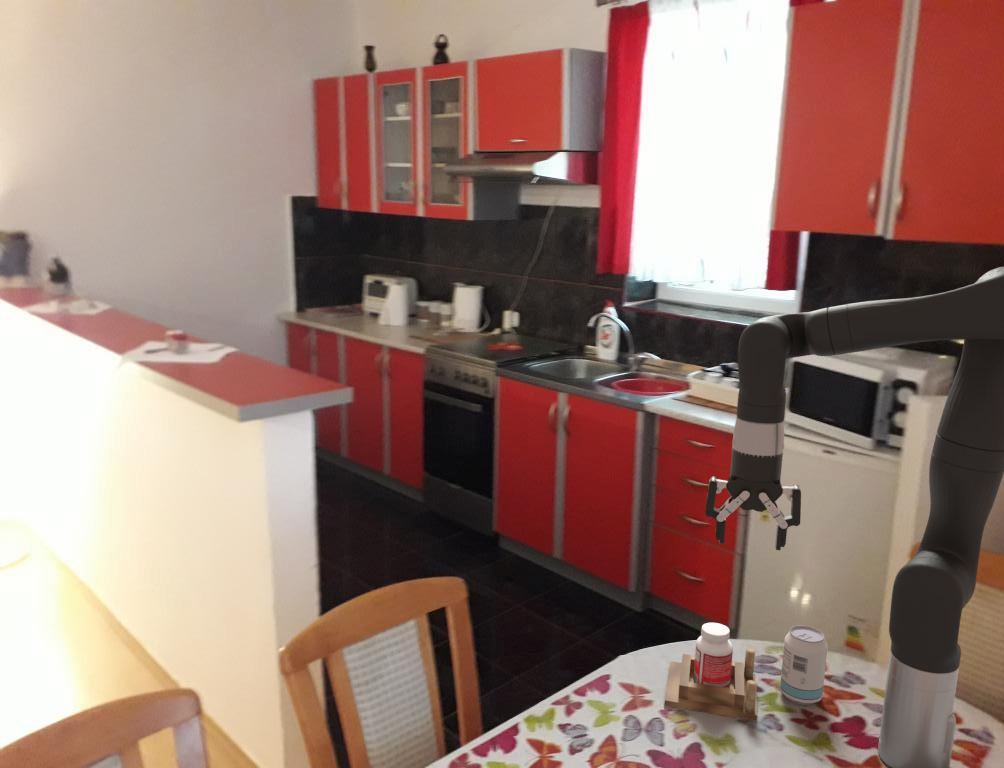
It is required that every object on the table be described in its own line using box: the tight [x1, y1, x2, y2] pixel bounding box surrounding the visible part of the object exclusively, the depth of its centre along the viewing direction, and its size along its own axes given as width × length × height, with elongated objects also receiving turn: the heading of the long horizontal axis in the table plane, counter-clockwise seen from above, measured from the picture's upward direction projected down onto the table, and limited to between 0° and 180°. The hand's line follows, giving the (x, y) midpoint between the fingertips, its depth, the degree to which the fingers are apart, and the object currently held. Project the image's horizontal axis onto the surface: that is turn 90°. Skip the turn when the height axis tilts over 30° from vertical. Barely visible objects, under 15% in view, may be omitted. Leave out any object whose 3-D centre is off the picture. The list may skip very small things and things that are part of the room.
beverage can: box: [779, 624, 829, 706], centre depth 142 cm, size 7×7×12 cm
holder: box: [663, 648, 758, 722], centre depth 143 cm, size 15×13×6 cm
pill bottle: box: [694, 622, 734, 688], centre depth 142 cm, size 6×6×11 cm
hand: (749, 545), depth 131 cm, fingers open, 8 cm apart
